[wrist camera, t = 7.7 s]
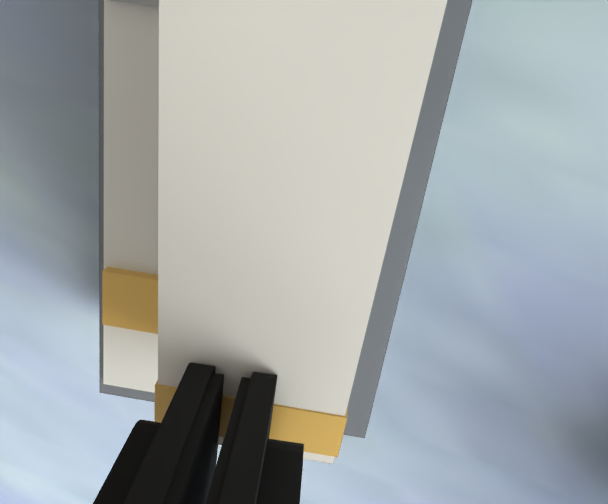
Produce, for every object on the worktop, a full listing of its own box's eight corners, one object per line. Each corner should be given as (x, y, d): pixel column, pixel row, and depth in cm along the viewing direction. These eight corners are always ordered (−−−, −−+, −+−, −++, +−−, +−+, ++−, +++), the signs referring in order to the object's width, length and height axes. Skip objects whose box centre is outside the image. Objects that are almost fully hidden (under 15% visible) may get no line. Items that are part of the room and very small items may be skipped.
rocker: (460, -117, 8) (487, -141, 6) (338, 405, 13) (335, 466, 12) (195, -159, 8) (154, -193, 6) (179, 378, 13) (154, 435, 12)
